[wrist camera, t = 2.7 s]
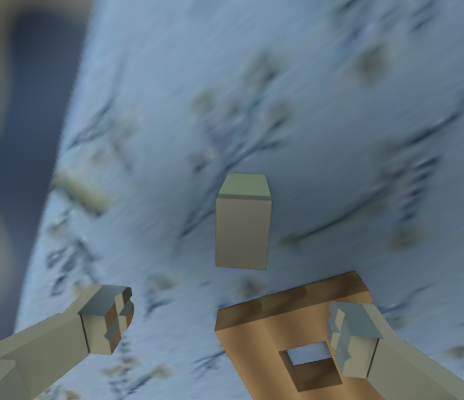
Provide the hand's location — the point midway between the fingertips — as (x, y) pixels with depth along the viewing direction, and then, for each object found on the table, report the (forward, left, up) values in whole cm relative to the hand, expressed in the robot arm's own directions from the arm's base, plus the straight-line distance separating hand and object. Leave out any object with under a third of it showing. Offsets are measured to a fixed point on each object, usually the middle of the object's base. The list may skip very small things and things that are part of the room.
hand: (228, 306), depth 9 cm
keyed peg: (0, 0, -14) cm, 14 cm away
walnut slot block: (-8, +18, -14) cm, 24 cm away
